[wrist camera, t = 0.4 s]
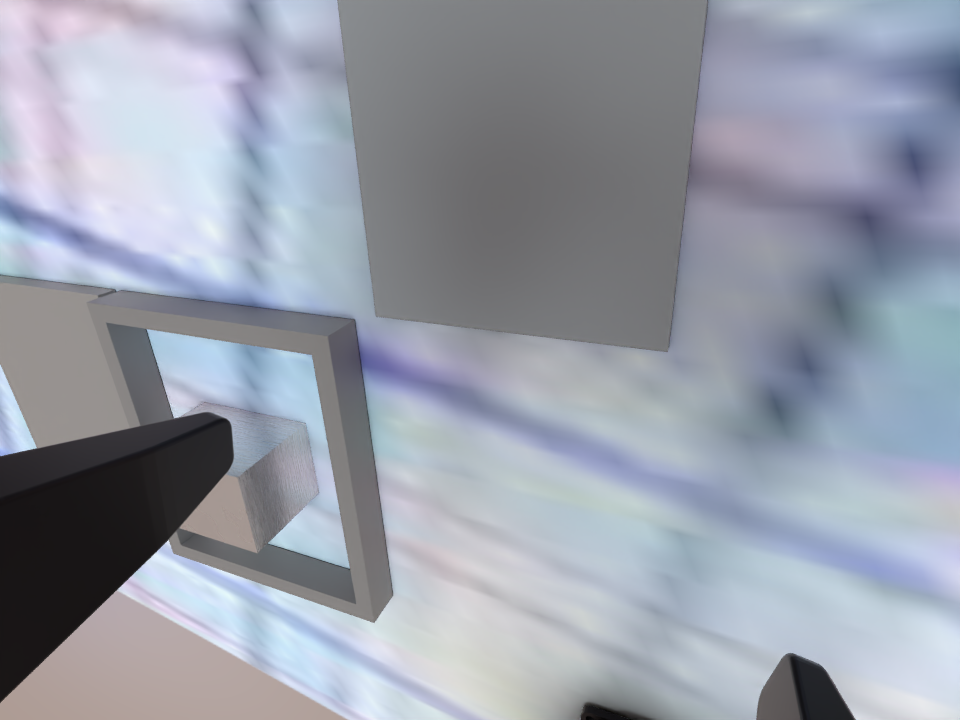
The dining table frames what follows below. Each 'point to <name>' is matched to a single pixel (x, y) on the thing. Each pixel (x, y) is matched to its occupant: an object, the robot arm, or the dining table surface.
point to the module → (257, 480)
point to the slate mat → (525, 160)
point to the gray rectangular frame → (142, 400)
